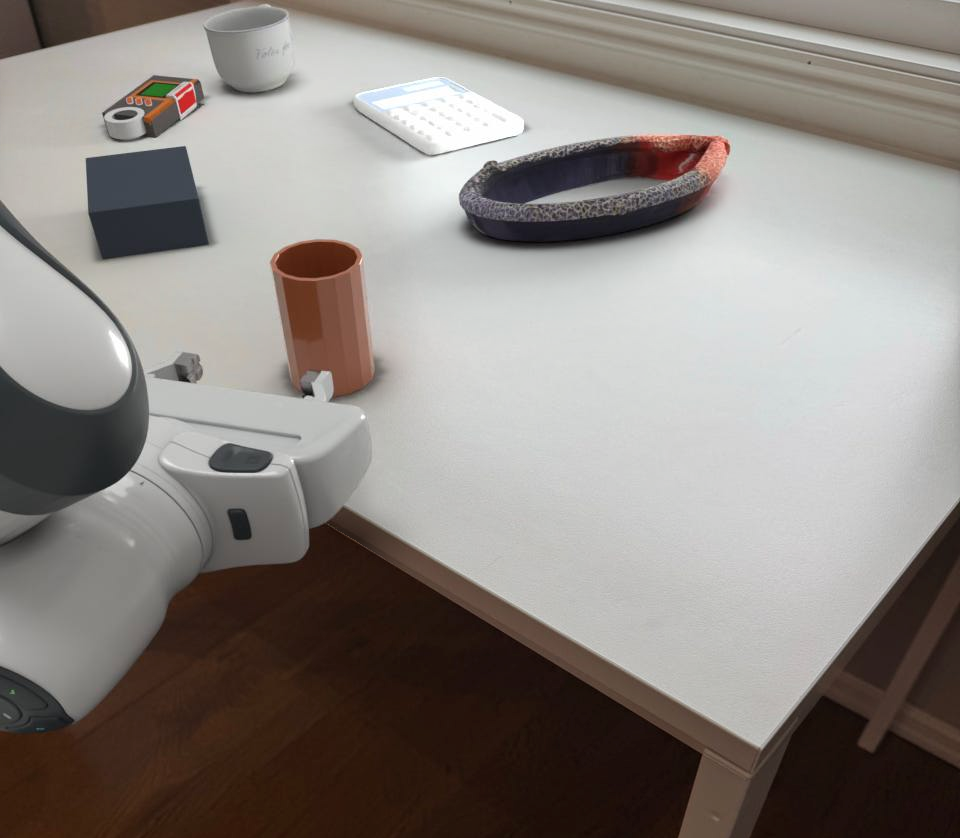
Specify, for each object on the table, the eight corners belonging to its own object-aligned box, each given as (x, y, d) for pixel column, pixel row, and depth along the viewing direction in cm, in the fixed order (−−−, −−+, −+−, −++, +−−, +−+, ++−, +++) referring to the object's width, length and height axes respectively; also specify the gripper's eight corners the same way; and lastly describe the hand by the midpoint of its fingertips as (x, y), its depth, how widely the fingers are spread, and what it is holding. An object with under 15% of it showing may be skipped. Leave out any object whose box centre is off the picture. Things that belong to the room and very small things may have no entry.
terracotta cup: (299, 410, 74) (277, 286, 67) (286, 366, 79) (264, 246, 72) (383, 395, 76) (370, 272, 68) (365, 353, 80) (351, 233, 73)
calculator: (428, 158, 109) (428, 140, 108) (350, 108, 121) (349, 91, 120) (527, 134, 114) (527, 117, 112) (443, 88, 126) (442, 72, 124)
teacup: (273, 103, 123) (262, 30, 117) (200, 94, 125) (185, 23, 120) (323, 69, 132) (315, 1, 126) (253, 62, 134) (242, -5, 129)
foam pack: (104, 265, 92) (88, 212, 88) (100, 207, 101) (85, 157, 98) (210, 250, 94) (198, 198, 90) (196, 195, 103) (185, 145, 100)
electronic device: (89, 117, 113) (154, 70, 122) (98, 143, 115) (160, 96, 125) (140, 122, 112) (201, 75, 121) (147, 149, 114) (207, 100, 123)
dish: (432, 212, 99) (429, 161, 96) (686, 160, 108) (692, 111, 104) (496, 274, 89) (496, 220, 86) (770, 211, 98) (781, 160, 94)
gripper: (15, 511, 59) (129, 392, 68) (327, 566, 55) (403, 431, 64) (-26, 424, 55) (102, 308, 64) (311, 476, 51) (396, 345, 60)
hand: (256, 370), depth 64 cm, fingers open, 8 cm apart
